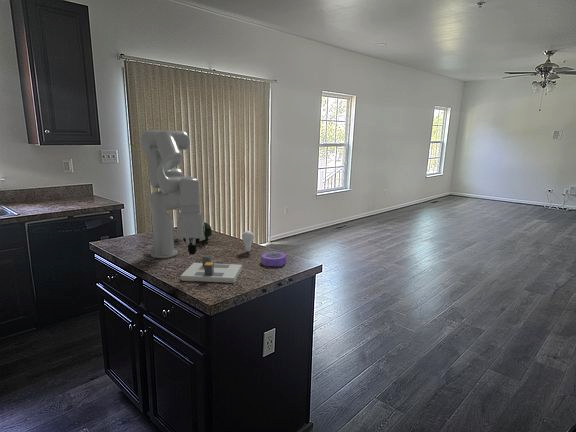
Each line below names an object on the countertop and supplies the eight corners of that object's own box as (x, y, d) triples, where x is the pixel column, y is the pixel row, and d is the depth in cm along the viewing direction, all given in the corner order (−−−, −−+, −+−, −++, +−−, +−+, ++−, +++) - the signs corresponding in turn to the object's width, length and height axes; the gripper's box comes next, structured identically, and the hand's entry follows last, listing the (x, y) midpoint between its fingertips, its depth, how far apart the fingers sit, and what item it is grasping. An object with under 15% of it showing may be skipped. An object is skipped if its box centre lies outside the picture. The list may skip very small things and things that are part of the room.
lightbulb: (242, 249, 189) (242, 229, 186) (254, 249, 189) (254, 229, 187) (241, 253, 183) (241, 232, 180) (253, 253, 183) (253, 232, 181)
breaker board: (180, 280, 147) (180, 275, 146) (193, 266, 162) (193, 262, 162) (234, 282, 145) (234, 277, 145) (242, 268, 161) (242, 264, 161)
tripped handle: (204, 274, 147) (204, 264, 146) (206, 272, 150) (206, 262, 149) (211, 275, 147) (211, 264, 146) (213, 272, 150) (213, 262, 149)
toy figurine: (181, 240, 211) (204, 245, 194) (178, 208, 209) (201, 210, 191) (195, 237, 218) (219, 242, 200) (192, 206, 215) (216, 208, 197)
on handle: (202, 265, 157) (202, 257, 156) (204, 263, 160) (204, 255, 159) (209, 266, 157) (209, 257, 156) (211, 263, 160) (211, 255, 159)
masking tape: (256, 263, 170) (256, 255, 169) (272, 257, 178) (272, 249, 178) (274, 269, 162) (274, 260, 162) (291, 262, 171) (291, 254, 170)
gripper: (168, 210, 140) (171, 256, 144) (206, 211, 139) (207, 257, 143) (175, 207, 148) (178, 250, 151) (211, 208, 147) (213, 251, 150)
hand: (192, 253), depth 147 cm, fingers closed
